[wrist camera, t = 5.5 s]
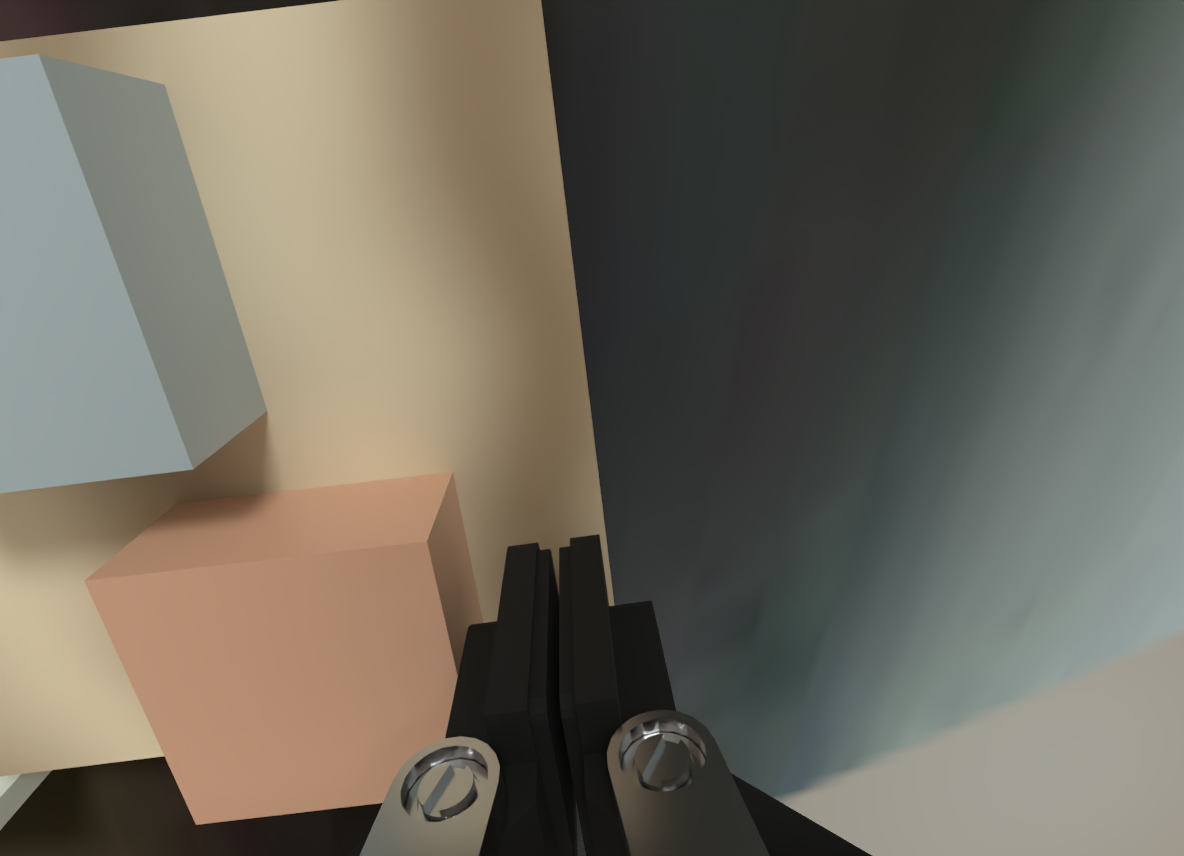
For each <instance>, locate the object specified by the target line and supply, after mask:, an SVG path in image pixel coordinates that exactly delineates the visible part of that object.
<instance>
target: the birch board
mask: <svg viewBox="0 0 1184 856" xmlns="http://www.w3.org/2000/svg"><path fill="white" fill-rule="evenodd" d="M35 54H40V55H44V56H49V57H53V58H57V59H61V60H65V61H69V62H73V63H78V64H82V65H86V66H90V67H94V68H98V69H102V70H107V71H111V72H115V73H119V74H123V75H127V76H131V77H136V78H140V79H144V80H148V81H152V82H156V83H161V84H164V85H165V88H166V91H167V94H168V97H169V100H170V104H171V107H172V110H173V113H174V116H175V119H176V123H177V126H178V129H179V132H180V135H181V139H182V142H183V145H184V148H185V151H186V154H187V158H188V161H189V164H190V167H191V170H192V173H193V177H194V180H195V183H196V186H197V189H198V192H199V196H200V199H201V202H202V205H203V208H204V211H205V215H206V218H207V221H208V224H209V227H210V231H211V234H212V237H213V240H214V243H215V246H216V250H217V253H218V256H219V259H220V262H221V265H222V269H223V272H224V275H225V278H226V281H227V284H228V288H229V291H230V294H231V297H232V300H233V304H234V307H235V310H236V313H237V316H238V319H239V323H240V326H241V329H242V332H243V335H244V338H245V342H246V345H247V348H248V351H249V354H250V357H251V361H252V364H253V367H254V370H255V373H256V376H257V380H258V383H259V386H260V389H261V392H262V396H263V399H264V402H265V405H266V408H267V411H266V412H265V413H264V414H263V415H261V416H260V417H259V418H258V419H256V420H255V421H254V422H253V423H251V424H250V425H249V426H248V427H246V428H245V429H244V430H242V431H241V432H240V433H239V434H237V435H236V436H235V437H234V438H232V439H231V440H230V441H229V442H227V443H226V444H225V445H223V446H222V447H221V448H220V449H218V450H217V451H216V452H215V453H213V454H212V455H211V456H210V457H208V458H207V459H206V460H205V461H203V462H202V463H201V464H199V465H198V466H197V467H196V468H194V469H193V470H185V471H177V472H169V473H160V474H152V475H144V476H136V477H128V478H120V479H112V480H104V481H95V482H87V483H79V484H71V485H63V486H55V487H47V488H39V489H30V490H22V491H14V492H6V493H0V777H1V776H9V775H17V774H25V773H33V772H41V771H49V770H57V769H65V768H73V767H81V766H89V765H97V764H105V763H114V762H122V761H130V760H138V759H146V758H154V757H162V756H164V754H163V752H162V749H161V747H160V745H159V743H158V741H157V739H156V736H155V734H154V732H153V730H152V728H151V726H150V723H149V721H148V719H147V717H146V715H145V713H144V710H143V708H142V706H141V704H140V702H139V699H138V697H137V695H136V693H135V691H134V689H133V686H132V684H131V682H130V680H129V678H128V676H127V673H126V671H125V669H124V667H123V665H122V663H121V660H120V658H119V656H118V654H117V652H116V649H115V647H114V645H113V643H112V641H111V639H110V636H109V634H108V632H107V630H106V628H105V626H104V623H103V621H102V619H101V617H100V615H99V613H98V610H97V608H96V606H95V604H94V602H93V599H92V597H91V595H90V593H89V591H88V589H87V586H86V584H85V582H84V580H86V579H87V578H88V577H89V576H90V575H92V574H93V573H94V572H95V571H96V570H98V569H99V568H100V567H101V566H102V565H104V564H105V563H106V562H107V561H108V560H110V559H111V558H112V557H113V556H114V555H116V554H117V553H118V552H119V551H120V550H122V549H123V548H124V547H125V546H126V545H127V544H129V543H130V542H131V541H132V540H133V539H135V538H136V537H137V536H138V535H139V534H141V533H142V532H143V531H144V530H145V529H147V528H148V527H149V526H150V525H151V524H153V523H154V522H155V521H156V520H157V519H159V518H160V517H161V516H162V515H163V514H165V513H166V512H167V511H168V510H169V509H171V508H172V507H173V506H174V505H175V504H179V503H188V502H197V501H205V500H214V499H223V498H231V497H240V496H249V495H257V494H266V493H275V492H283V491H292V490H301V489H309V488H318V487H327V486H335V485H344V484H353V483H362V482H370V481H379V480H388V479H396V478H405V477H414V476H422V475H431V474H440V473H448V472H453V475H454V480H455V485H456V490H457V495H458V500H459V505H460V510H461V515H462V520H463V525H464V530H465V535H466V540H467V545H468V550H469V555H470V560H471V565H472V569H473V574H474V579H475V584H476V589H477V594H478V599H479V604H480V609H481V614H482V619H483V623H487V622H494V621H497V617H498V609H499V602H500V595H501V588H502V581H503V574H504V567H505V560H506V553H507V548H508V546H514V545H522V544H529V543H537V542H538V544H539V547H540V550H545V549H551V553H552V558H553V564H554V570H555V576H556V582H557V588H558V594H559V548H560V547H567V546H570V538H575V537H582V536H590V535H597V534H599V536H600V542H601V550H602V557H603V564H604V572H605V579H606V586H607V594H608V601H609V606H614V598H613V589H612V581H611V573H610V565H609V556H608V548H607V540H606V532H605V523H604V515H603V507H602V499H601V490H600V482H599V474H598V466H597V458H596V449H595V441H594V433H593V425H592V416H591V408H590V400H589V392H588V383H587V375H586V367H585V359H584V350H583V342H582V334H581V326H580V317H579V309H578V301H577V293H576V285H575V276H574V268H573V260H572V252H571V243H570V235H569V227H568V219H567V210H566V202H565V194H564V186H563V177H562V169H561V161H560V153H559V144H558V136H557V128H556V120H555V112H554V103H553V95H552V87H551V79H550V70H549V62H548V54H547V46H546V37H545V29H544V21H543V13H542V4H541V0H341V1H333V2H324V3H316V4H308V5H300V6H291V7H283V8H275V9H267V10H258V11H250V12H242V13H234V14H225V15H217V16H209V17H200V18H192V19H184V20H176V21H167V22H159V23H151V24H143V25H134V26H126V27H118V28H110V29H101V30H93V31H85V32H77V33H68V34H60V35H52V36H43V37H35V38H27V39H19V40H10V41H2V42H0V59H2V58H10V57H18V56H26V55H35Z"/></svg>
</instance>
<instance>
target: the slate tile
mask: <svg viewBox="0 0 1184 856" xmlns="http://www.w3.org/2000/svg"><path fill="white" fill-rule="evenodd" d="M266 411H267V408H266V405H265V402H264V399H263V396H262V392H261V389H260V386H259V383H258V380H257V376H256V373H255V370H254V367H253V364H252V361H251V357H250V354H249V351H248V348H247V345H246V342H245V338H244V335H243V332H242V329H241V326H240V323H239V319H238V316H237V313H236V310H235V307H234V304H233V300H232V297H231V294H230V291H229V288H228V284H227V281H226V278H225V275H224V272H223V269H222V265H221V262H220V259H219V256H218V253H217V250H216V246H215V243H214V240H213V237H212V234H211V231H210V227H209V224H208V221H207V218H206V215H205V211H204V208H203V205H202V202H201V199H200V196H199V192H198V189H197V186H196V183H195V180H194V177H193V173H192V170H191V167H190V164H189V161H188V158H187V154H186V151H185V148H184V145H183V142H182V139H181V135H180V132H179V129H178V126H177V123H176V119H175V116H174V113H173V110H172V107H171V104H170V100H169V97H168V94H167V91H166V88H165V85H164V84H161V83H156V82H152V81H148V80H144V79H140V78H136V77H131V76H127V75H123V74H119V73H115V72H111V71H107V70H102V69H98V68H94V67H90V66H86V65H82V64H78V63H73V62H69V61H65V60H61V59H57V58H53V57H49V56H44V55H40V54H35V55H26V56H18V57H10V58H2V59H0V493H6V492H14V491H22V490H30V489H39V488H47V487H55V486H63V485H71V484H79V483H87V482H95V481H104V480H112V479H120V478H128V477H136V476H144V475H152V474H160V473H169V472H177V471H185V470H193V469H194V468H196V467H197V466H198V465H199V464H201V463H202V462H203V461H205V460H206V459H207V458H208V457H210V456H211V455H212V454H213V453H215V452H216V451H217V450H218V449H220V448H221V447H222V446H223V445H225V444H226V443H227V442H229V441H230V440H231V439H232V438H234V437H235V436H236V435H237V434H239V433H240V432H241V431H242V430H244V429H245V428H246V427H248V426H249V425H250V424H251V423H253V422H254V421H255V420H256V419H258V418H259V417H260V416H261V415H263V414H264V413H265V412H266Z"/></svg>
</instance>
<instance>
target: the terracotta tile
mask: <svg viewBox="0 0 1184 856" xmlns="http://www.w3.org/2000/svg"><path fill="white" fill-rule="evenodd" d="M84 582H85V584H86V586H87V589H88V591H89V593H90V595H91V597H92V599H93V602H94V604H95V606H96V608H97V610H98V613H99V615H100V617H101V619H102V621H103V623H104V626H105V628H106V630H107V632H108V634H109V636H110V639H111V641H112V643H113V645H114V647H115V649H116V652H117V654H118V656H119V658H120V660H121V663H122V665H123V667H124V669H125V671H126V673H127V676H128V678H129V680H130V682H131V684H132V686H133V689H134V691H135V693H136V695H137V697H138V699H139V702H140V704H141V706H142V708H143V710H144V713H145V715H146V717H147V719H148V721H149V723H150V726H151V728H152V730H153V732H154V734H155V736H156V739H157V741H158V743H159V745H160V747H161V749H162V752H163V754H164V756H165V758H166V760H167V763H168V765H169V767H170V769H171V771H172V773H173V776H174V778H175V780H176V782H177V784H178V786H179V789H180V791H181V793H182V795H183V797H184V799H185V802H186V804H187V806H188V808H189V810H190V813H191V815H192V817H193V819H194V821H195V823H196V825H198V824H206V823H215V822H224V821H232V820H241V819H249V818H258V817H266V816H275V815H283V814H292V813H301V812H309V811H318V810H326V809H335V808H343V807H352V806H360V805H369V804H378V803H383V801H384V799H385V797H386V795H387V792H388V790H389V788H390V785H391V783H392V781H393V779H394V778H395V776H396V775H397V773H398V771H399V770H400V768H401V767H402V766H403V765H404V764H405V763H406V762H407V761H408V760H409V759H410V758H411V757H412V756H413V755H414V754H415V753H417V752H418V751H420V750H421V749H423V748H424V747H426V746H427V745H429V744H432V743H434V742H437V741H440V740H442V739H445V736H446V731H447V726H448V722H449V717H450V712H451V707H452V702H453V697H454V692H455V687H456V683H457V678H458V673H459V668H460V663H461V658H462V653H463V648H464V643H465V639H466V634H467V630H468V627H469V626H470V625H471V624H479V623H483V619H482V614H481V609H480V604H479V599H478V594H477V589H476V584H475V579H474V574H473V569H472V565H471V560H470V555H469V550H468V545H467V540H466V535H465V530H464V525H463V520H462V515H461V510H460V505H459V500H458V495H457V490H456V485H455V480H454V475H453V472H448V473H440V474H431V475H422V476H414V477H405V478H396V479H388V480H379V481H370V482H362V483H353V484H344V485H335V486H327V487H318V488H309V489H301V490H292V491H283V492H275V493H266V494H257V495H249V496H240V497H231V498H223V499H214V500H205V501H197V502H188V503H179V504H175V505H174V506H173V507H172V508H171V509H169V510H168V511H167V512H166V513H165V514H163V515H162V516H161V517H160V518H159V519H157V520H156V521H155V522H154V523H153V524H151V525H150V526H149V527H148V528H147V529H145V530H144V531H143V532H142V533H141V534H139V535H138V536H137V537H136V538H135V539H133V540H132V541H131V542H130V543H129V544H127V545H126V546H125V547H124V548H123V549H122V550H120V551H119V552H118V553H117V554H116V555H114V556H113V557H112V558H111V559H110V560H108V561H107V562H106V563H105V564H104V565H102V566H101V567H100V568H99V569H98V570H96V571H95V572H94V573H93V574H92V575H90V576H89V577H88V578H87V579H86V580H84Z"/></svg>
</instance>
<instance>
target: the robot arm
mask: <svg viewBox="0 0 1184 856" xmlns="http://www.w3.org/2000/svg"><path fill="white" fill-rule="evenodd" d="M576 802H577V807H578V813H579V818H580V824H581V829H582V835H583V840H584V846H585V851H586V856H872V855H870V854H868V853H866V852H865V851H863V850H861V849H860V848H858V847H856V846H854V845H853V844H851V843H849V842H847V841H846V840H844V839H842V838H841V837H839V836H837V835H836V834H834V833H832V832H830V831H829V830H827V829H825V828H824V827H822V826H820V825H818V824H817V823H815V822H813V821H812V820H810V819H808V818H806V817H805V816H803V815H801V814H799V813H798V812H796V811H794V810H793V809H791V808H789V807H788V806H786V805H784V804H783V803H781V802H779V801H777V800H776V799H774V798H772V797H771V796H769V795H767V794H765V793H764V792H762V791H760V790H759V789H757V788H755V787H753V786H752V785H750V784H748V783H747V782H745V781H743V780H741V779H740V778H738V777H736V776H735V775H733V774H731V773H730V771H729V769H728V766H727V764H726V762H725V760H724V758H723V756H722V754H721V752H720V750H719V747H718V745H717V743H716V741H715V739H714V738H713V736H712V735H711V733H710V732H709V731H708V729H707V728H706V726H704V725H703V724H702V723H700V722H699V721H698V720H696V719H695V718H694V717H691V716H689V715H686V714H683V713H681V712H678V711H676V708H675V704H674V699H673V695H672V690H671V686H670V681H669V677H668V672H667V668H666V663H665V659H664V654H663V650H662V645H661V640H660V636H659V631H658V627H657V622H656V618H655V613H654V609H653V605H652V602H651V601H645V602H638V603H630V604H623V605H615V606H609V601H608V594H607V586H606V579H605V572H604V564H603V557H602V550H601V542H600V536H599V534H597V535H590V536H582V537H575V538H570V546H567V547H560V548H559V594H558V588H557V582H556V576H555V570H554V564H553V558H552V553H551V549H545V550H540V547H539V544H538V542H537V543H529V544H522V545H514V546H508V548H507V553H506V560H505V567H504V574H503V581H502V588H501V595H500V602H499V609H498V617H497V621H494V622H487V623H479V624H471V625H470V626H469V627H468V630H467V634H466V639H465V643H464V648H463V653H462V658H461V663H460V668H459V673H458V678H457V683H456V687H455V692H454V697H453V702H452V707H451V712H450V717H449V722H448V726H447V731H446V736H445V739H442V740H440V741H437V742H434V743H432V744H429V745H427V746H426V747H424V748H423V749H421V750H420V751H418V752H417V753H415V754H414V755H413V756H412V757H411V758H410V759H409V760H408V761H407V762H406V763H405V764H404V765H403V766H402V767H401V768H400V770H399V771H398V773H397V775H396V776H395V778H394V779H393V781H392V783H391V785H390V788H389V790H388V792H387V795H386V797H385V799H384V801H383V804H382V806H381V808H380V810H379V813H378V815H377V817H376V820H375V822H374V824H373V826H372V829H371V831H370V833H369V835H368V837H367V838H366V839H365V840H364V841H363V842H362V843H360V844H359V845H358V846H357V847H356V848H355V849H353V850H352V851H351V852H350V853H349V854H347V855H346V856H577V823H576Z"/></svg>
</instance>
